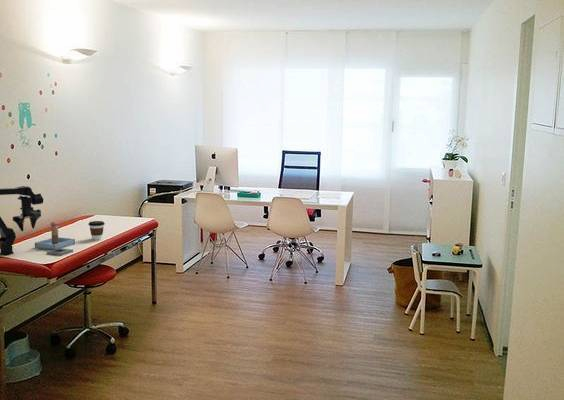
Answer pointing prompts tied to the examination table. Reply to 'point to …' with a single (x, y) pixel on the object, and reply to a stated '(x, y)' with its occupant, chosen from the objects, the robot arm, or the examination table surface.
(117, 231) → the examination table surface
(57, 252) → the plate
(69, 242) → the pin tray
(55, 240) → the pin
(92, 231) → the coffee cup
